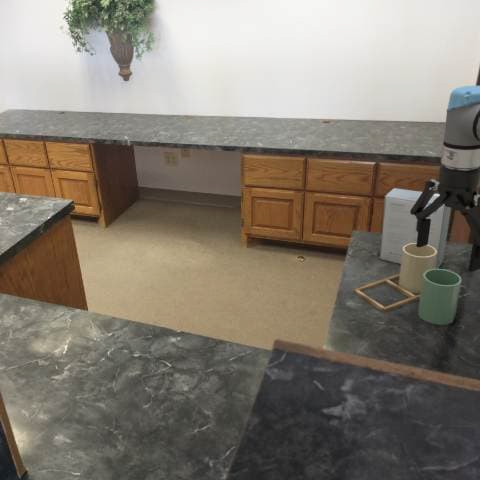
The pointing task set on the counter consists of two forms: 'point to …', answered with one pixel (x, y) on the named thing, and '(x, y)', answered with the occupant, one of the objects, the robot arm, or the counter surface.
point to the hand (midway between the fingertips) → (446, 257)
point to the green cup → (439, 296)
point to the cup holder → (395, 286)
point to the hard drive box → (410, 225)
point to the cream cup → (415, 266)
